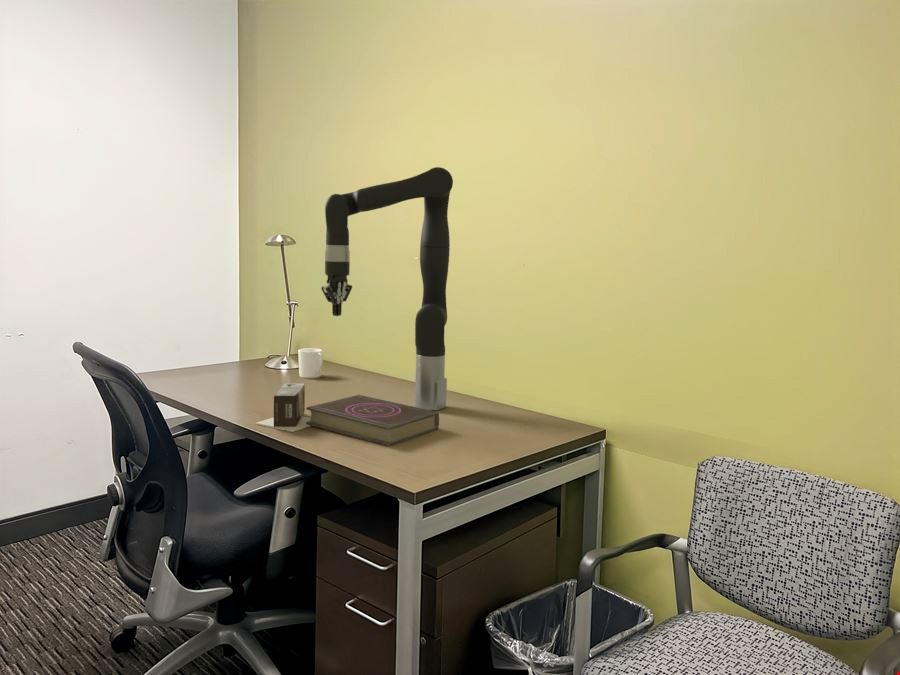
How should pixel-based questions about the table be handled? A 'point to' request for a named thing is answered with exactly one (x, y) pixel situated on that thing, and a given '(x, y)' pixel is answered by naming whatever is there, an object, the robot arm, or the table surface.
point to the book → (373, 419)
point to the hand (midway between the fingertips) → (336, 315)
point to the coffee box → (289, 404)
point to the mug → (310, 363)
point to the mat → (299, 426)
